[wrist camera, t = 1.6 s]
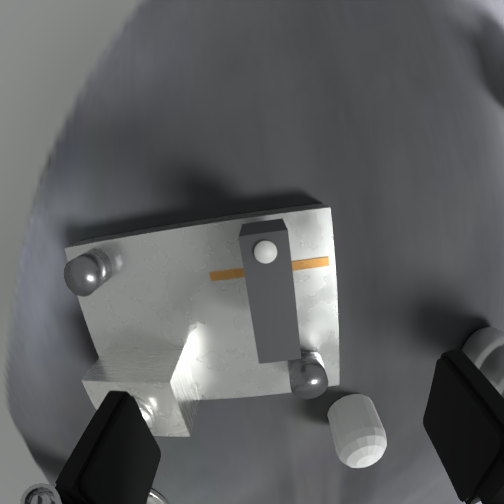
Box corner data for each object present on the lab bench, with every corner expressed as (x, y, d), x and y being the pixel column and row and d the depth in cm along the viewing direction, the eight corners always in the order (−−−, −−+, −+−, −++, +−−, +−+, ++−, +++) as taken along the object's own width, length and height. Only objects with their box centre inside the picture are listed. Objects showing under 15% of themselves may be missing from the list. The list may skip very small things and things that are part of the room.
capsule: (348, 432, 32) (362, 482, 24) (317, 416, 31) (328, 470, 23) (381, 404, 31) (403, 453, 23) (352, 386, 30) (372, 439, 22)
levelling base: (333, 366, 29) (355, 435, 20) (126, 382, 30) (92, 442, 21) (322, 203, 25) (357, 222, 16) (81, 240, 27) (16, 271, 17)
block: (292, 317, 24) (301, 360, 18) (259, 321, 24) (259, 365, 18) (280, 214, 22) (287, 230, 16) (243, 219, 22) (238, 237, 16)
